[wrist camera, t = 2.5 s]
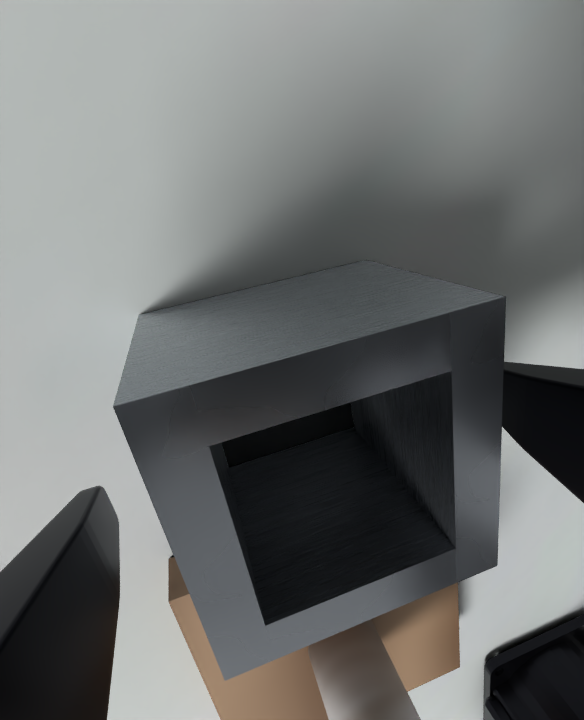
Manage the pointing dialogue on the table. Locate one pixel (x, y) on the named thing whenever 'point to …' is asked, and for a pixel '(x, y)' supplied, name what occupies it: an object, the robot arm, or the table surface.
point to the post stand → (334, 664)
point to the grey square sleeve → (320, 449)
